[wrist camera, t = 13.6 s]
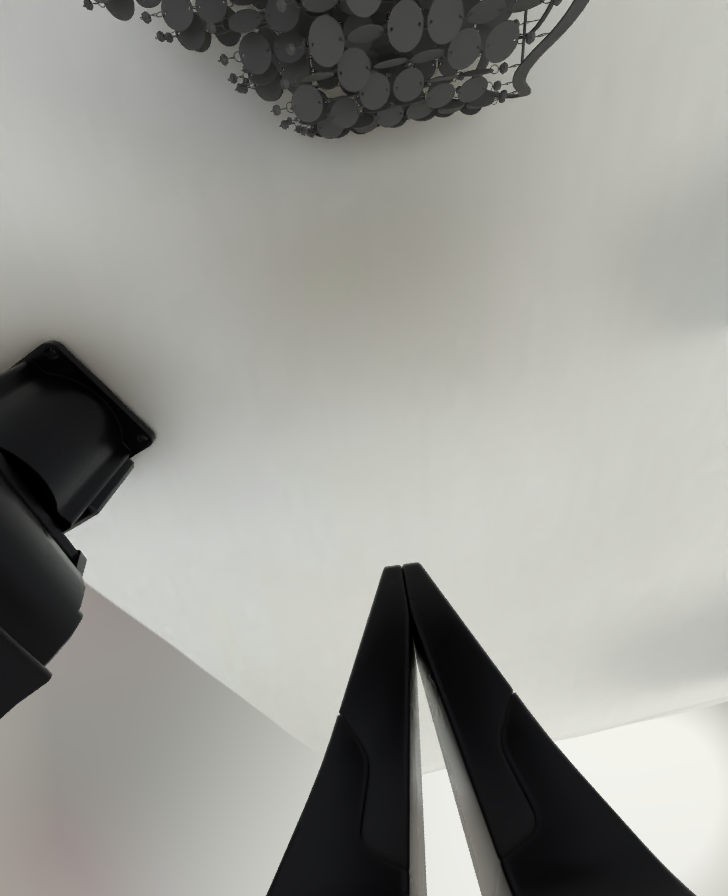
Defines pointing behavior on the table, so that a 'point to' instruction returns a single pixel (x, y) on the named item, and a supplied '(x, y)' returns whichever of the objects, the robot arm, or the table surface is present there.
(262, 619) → the table surface
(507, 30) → the grey chandelier
